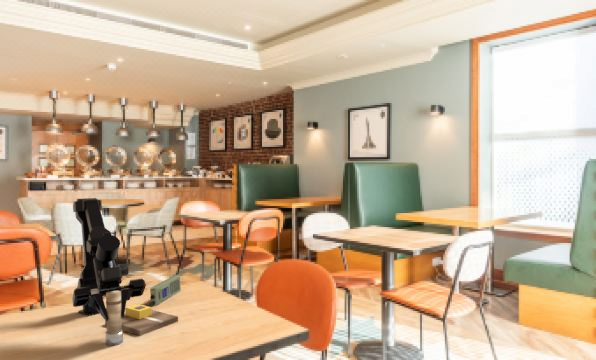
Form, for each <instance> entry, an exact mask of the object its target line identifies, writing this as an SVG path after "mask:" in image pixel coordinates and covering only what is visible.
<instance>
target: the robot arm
mask: <svg viewBox="0 0 596 360" xmlns="http://www.w3.org/2000/svg"><path fill="white" fill-rule="evenodd" d="M72 203H73V204H72V210H73V211H72V212H73V213H75V214H74V215H75V219H76V220H77V221H78V222H79V224H80V225H81V234H82V236H81V238H82V250H83V260H84V264H83V265H84V267H83V268H82V270H81V272H80V274H79V278H78V281H77V286H76V287H75V289H74V290H73V293H72V306H73V307H75V308H76V307H77V308H78V307H82V309H80V310H77V311H78V313H79V314H83V315H86V316H92V315H96V314H98V313H99V314H100V316H101V317H102V318H103V320H104V322H105V321H108V315H107V311H106V303H105V300H104V297H106V293H107V292H110V291H121V316H122V318H124V314H125V308H126V307H127V305H126V304H127V301H129V300H131V298H136V297H141V296H143V295H144V292H145V289H146V286H147V285H146V280H144V279H143V278H137V279H130V280H129V282H128V284H127V285H120V284H122V279H123V277H125V276H128V275H129V265H128V263H121V264H120V265H119V266H116V261H115V260H116V259H117V257H118V254H119V250H120V246H121V241H120V239H119V238H118V237H117V236H115V235H112V232H111V230H109V229H107V228H106V226H105V223H104V219H103V214H102V211H103V205H102V204H103V203H102V200H101V199H98V198H96V197H95V198H94V197H89V198H76V201H75V200H74V201H73V202H72Z"/></svg>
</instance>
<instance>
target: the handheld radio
mask: <svg viewBox="0 0 596 360" xmlns="http://www.w3.org/2000/svg"><path fill="white" fill-rule="evenodd" d="M181 290H182V287H181V275H180V274H174V275H173V276H170V277H169V278H166V279H165V280H163V281H161V282H159V283H157V284H156V285H153V286H151V287H150V288H149V291H150V292H149V293H150V302H149V303H147V304H145V305H144V306H148V307H151V308H152V306H155V307H156V306H158V305H160V304H162V303H163V302H165V301H166V300H168V299H170V298H172V297H173V296H174V295H176V294H178V293H180V292H181Z"/></svg>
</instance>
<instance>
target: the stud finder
mask: <svg viewBox="0 0 596 360" xmlns="http://www.w3.org/2000/svg"><path fill="white" fill-rule="evenodd" d="M151 310H152V306H151V307H148V306H145V305H144V304H139V303H135V304H132V305H130V306H125V313H126V316H130V317H133V318H137V319H142V318H145V317H148V316H151V315H152V311H151ZM125 313H124V314H125Z"/></svg>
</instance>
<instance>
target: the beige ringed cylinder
mask: <svg viewBox="0 0 596 360" xmlns="http://www.w3.org/2000/svg"><path fill="white" fill-rule="evenodd" d="M105 308H106V311H107V315H108V321H107V325H106V332H105V345H106V346H107V347H109V346H110V347H112V346H113V347H114V346H119V345H121V344H122V343H123V342H124V330H122V323H121V291H110V292H107V293H106V296H105Z"/></svg>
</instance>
